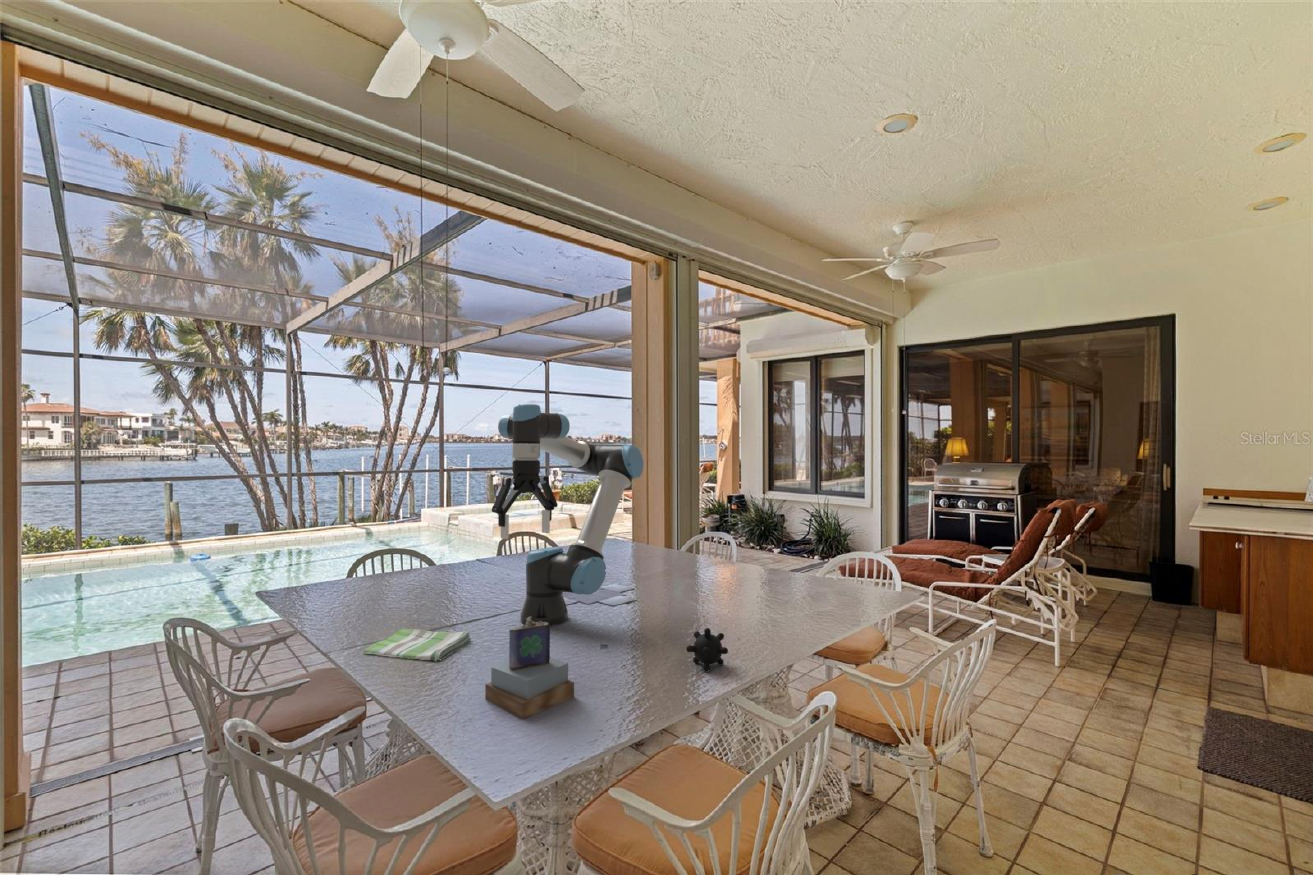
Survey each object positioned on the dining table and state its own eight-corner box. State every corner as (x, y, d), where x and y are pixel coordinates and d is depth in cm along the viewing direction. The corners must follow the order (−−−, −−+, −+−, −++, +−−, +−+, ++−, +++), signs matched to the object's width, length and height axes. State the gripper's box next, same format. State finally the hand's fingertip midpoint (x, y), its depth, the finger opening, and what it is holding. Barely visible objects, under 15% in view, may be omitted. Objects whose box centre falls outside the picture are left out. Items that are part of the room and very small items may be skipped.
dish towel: (437, 664, 148) (438, 651, 148) (361, 657, 153) (362, 643, 153) (472, 642, 164) (472, 630, 164) (403, 636, 169) (403, 624, 169)
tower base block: (536, 682, 137) (536, 665, 137) (574, 699, 128) (574, 682, 128) (485, 702, 127) (485, 684, 127) (522, 722, 118) (522, 703, 118)
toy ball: (737, 648, 150) (736, 653, 139) (709, 677, 150) (705, 683, 138) (710, 617, 154) (706, 619, 142) (681, 645, 153) (676, 649, 142)
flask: (510, 671, 124) (510, 622, 124) (507, 666, 127) (507, 618, 127) (551, 664, 128) (551, 616, 129) (547, 659, 131) (547, 613, 131)
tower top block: (532, 668, 136) (532, 651, 136) (568, 680, 129) (568, 663, 129) (491, 685, 126) (491, 667, 126) (527, 699, 119) (528, 680, 119)
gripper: (494, 460, 146) (493, 542, 145) (569, 458, 164) (569, 531, 164) (478, 459, 151) (478, 539, 150) (553, 458, 169) (553, 529, 169)
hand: (525, 535), depth 157 cm, fingers open, 13 cm apart
